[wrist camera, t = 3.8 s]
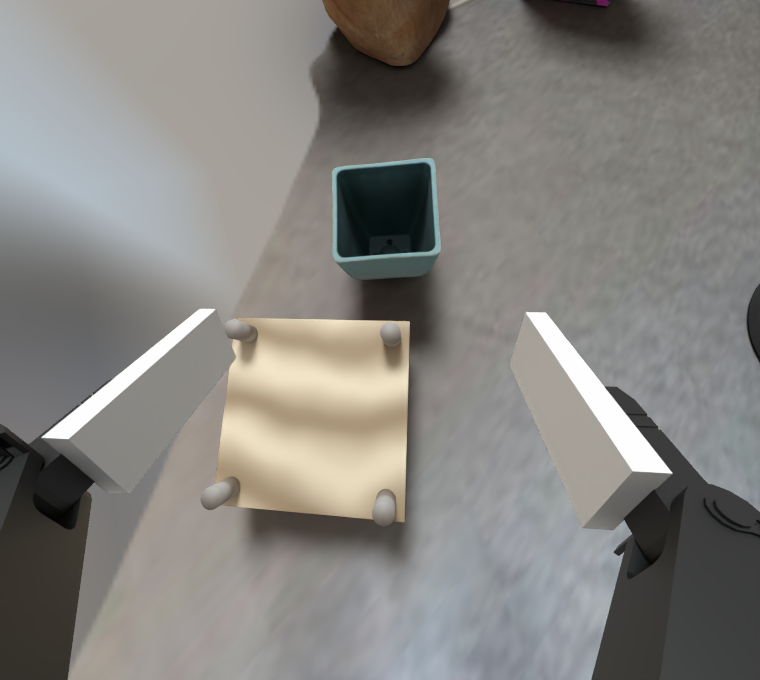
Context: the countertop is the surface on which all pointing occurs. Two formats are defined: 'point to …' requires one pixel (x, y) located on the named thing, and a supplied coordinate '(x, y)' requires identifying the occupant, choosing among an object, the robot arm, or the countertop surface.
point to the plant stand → (315, 418)
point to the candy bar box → (591, 2)
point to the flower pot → (386, 219)
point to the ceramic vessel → (388, 26)
